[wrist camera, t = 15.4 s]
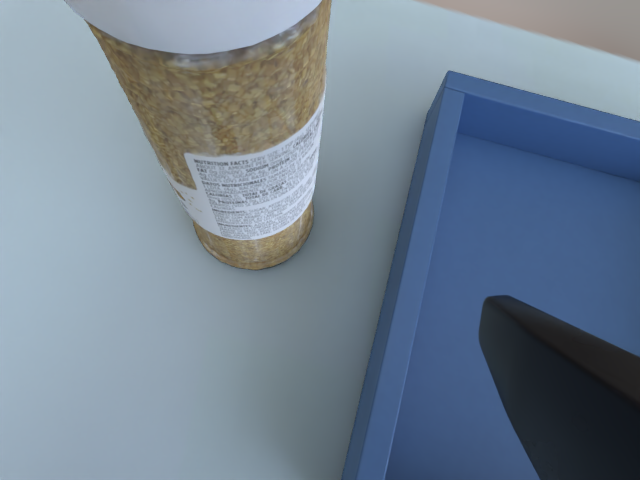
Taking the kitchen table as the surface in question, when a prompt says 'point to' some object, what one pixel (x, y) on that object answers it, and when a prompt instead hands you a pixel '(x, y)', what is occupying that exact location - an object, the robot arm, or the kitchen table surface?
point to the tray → (494, 272)
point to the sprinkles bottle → (227, 110)
